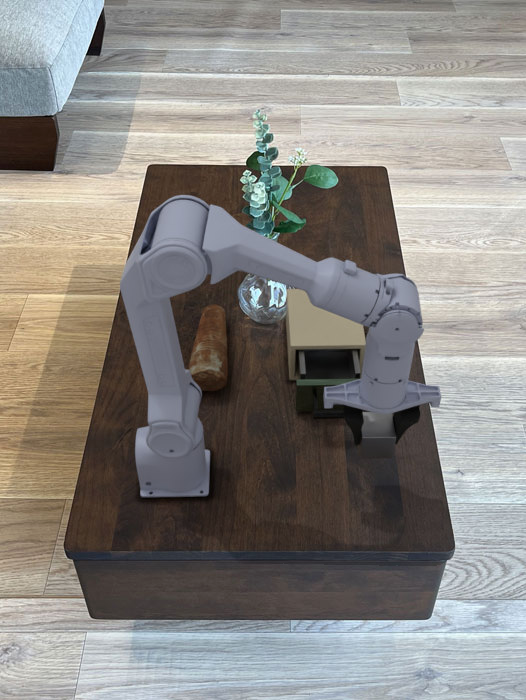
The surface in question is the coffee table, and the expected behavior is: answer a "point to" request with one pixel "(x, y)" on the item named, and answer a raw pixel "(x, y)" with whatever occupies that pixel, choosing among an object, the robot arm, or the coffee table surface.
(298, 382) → the drawer
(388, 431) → the block
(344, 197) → the coffee table surface
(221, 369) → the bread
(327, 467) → the coffee table surface
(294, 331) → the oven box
